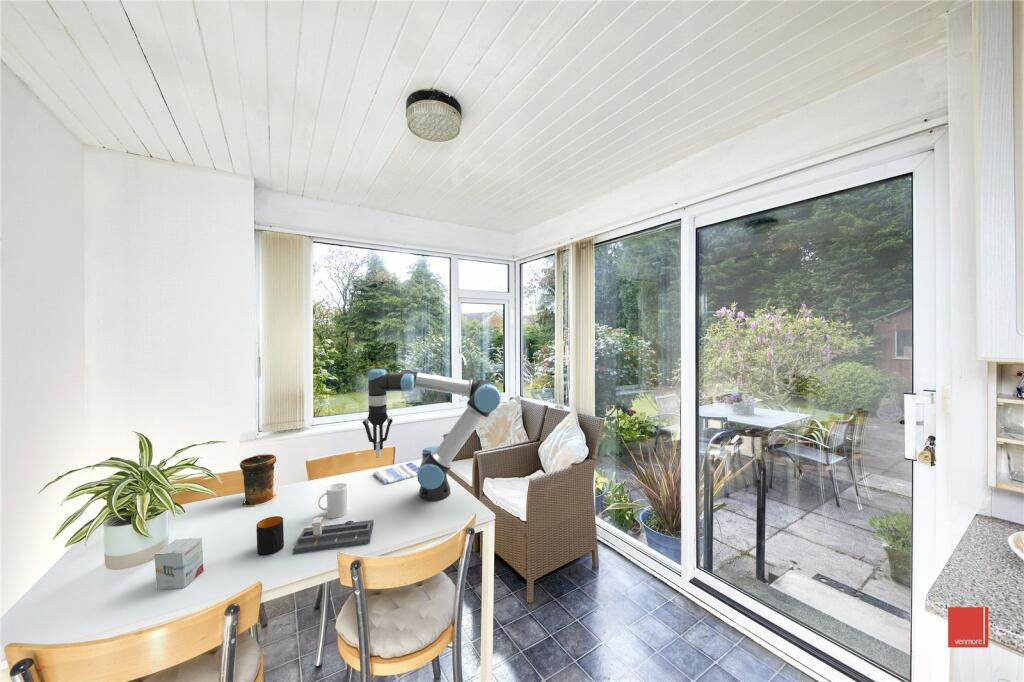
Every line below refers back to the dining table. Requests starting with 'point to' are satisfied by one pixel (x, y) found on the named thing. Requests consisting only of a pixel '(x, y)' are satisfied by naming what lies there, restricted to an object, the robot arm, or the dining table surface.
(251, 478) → the vessel
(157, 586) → the ink box
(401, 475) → the dish towel
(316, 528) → the fader
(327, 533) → the console
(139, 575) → the dining table surface
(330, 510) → the mug
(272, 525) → the mug
